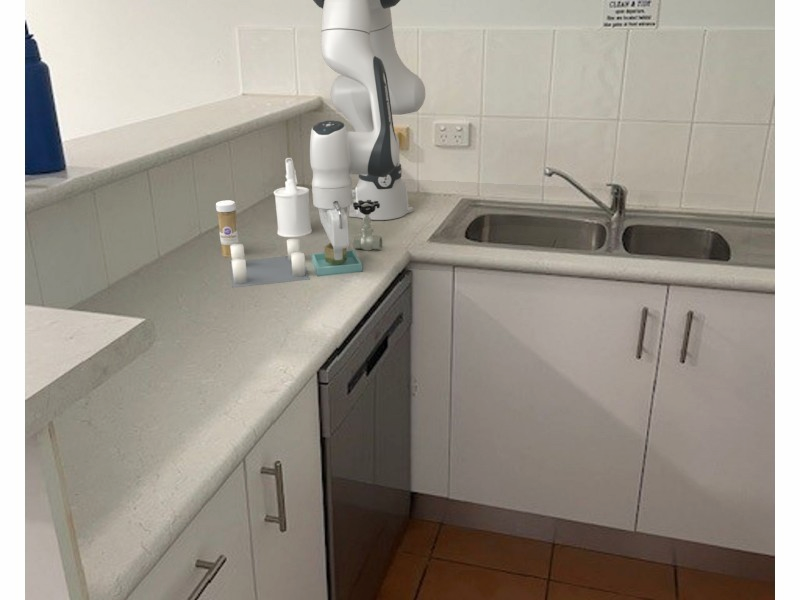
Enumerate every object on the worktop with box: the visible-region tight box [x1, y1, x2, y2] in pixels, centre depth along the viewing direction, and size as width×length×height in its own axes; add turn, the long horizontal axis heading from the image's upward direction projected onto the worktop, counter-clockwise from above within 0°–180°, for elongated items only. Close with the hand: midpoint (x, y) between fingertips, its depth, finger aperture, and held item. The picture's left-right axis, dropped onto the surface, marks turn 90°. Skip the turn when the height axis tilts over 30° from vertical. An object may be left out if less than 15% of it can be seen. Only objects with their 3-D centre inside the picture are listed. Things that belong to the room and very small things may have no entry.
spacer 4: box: [291, 251, 307, 277], centre depth 162 cm, size 3×3×5 cm
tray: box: [311, 249, 363, 277], centre depth 168 cm, size 10×10×2 cm
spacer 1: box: [230, 243, 246, 261], centre depth 168 cm, size 3×3×5 cm
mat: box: [229, 255, 311, 289], centre depth 166 cm, size 17×17×1 cm
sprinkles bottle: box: [215, 199, 240, 258], centre depth 175 cm, size 5×5×13 cm
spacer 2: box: [231, 258, 248, 284], centre depth 159 cm, size 3×3×5 cm
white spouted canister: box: [273, 157, 313, 238], centre depth 189 cm, size 10×9×20 cm
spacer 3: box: [286, 237, 301, 262], centre depth 171 cm, size 3×3×5 cm
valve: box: [352, 200, 383, 252], centre depth 177 cm, size 7×7×12 cm
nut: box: [324, 242, 348, 264], centre depth 167 cm, size 4×5×4 cm
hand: (336, 254), depth 167 cm, fingers closed on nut, 4 cm apart
